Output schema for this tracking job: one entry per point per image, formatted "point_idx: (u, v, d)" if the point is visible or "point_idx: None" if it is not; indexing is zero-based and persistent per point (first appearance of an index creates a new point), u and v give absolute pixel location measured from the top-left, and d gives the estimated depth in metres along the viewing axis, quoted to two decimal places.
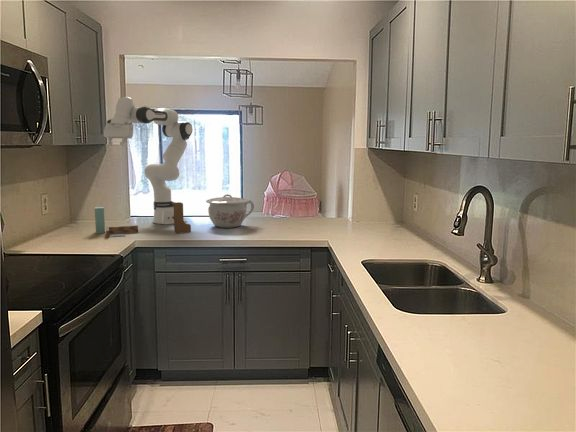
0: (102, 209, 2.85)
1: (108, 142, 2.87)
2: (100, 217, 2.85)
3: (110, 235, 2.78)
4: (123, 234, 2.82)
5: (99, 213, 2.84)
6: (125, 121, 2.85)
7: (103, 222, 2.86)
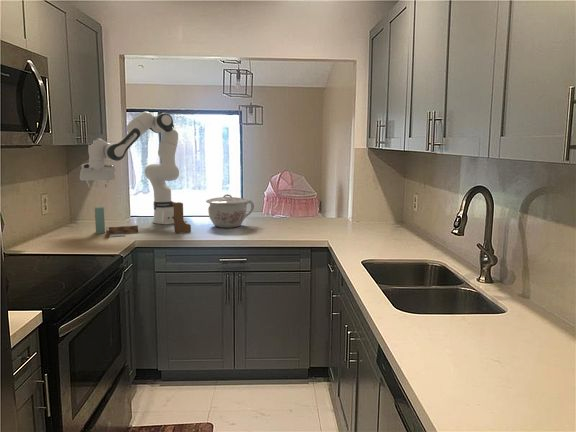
0: (102, 209, 2.85)
1: (88, 185, 2.97)
2: (100, 217, 2.85)
3: (110, 235, 2.78)
4: (123, 234, 2.82)
5: (99, 213, 2.84)
6: None
7: (103, 222, 2.86)
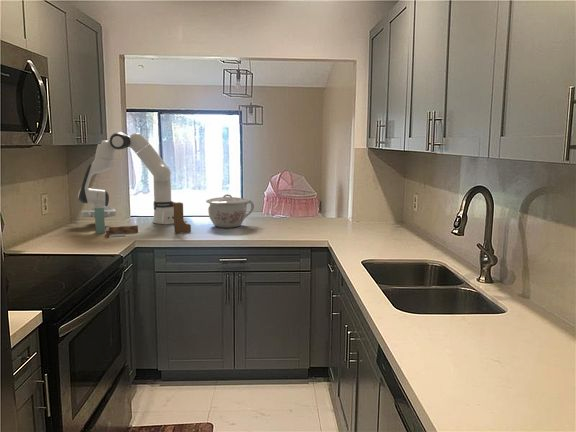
0: (102, 209, 2.85)
1: (108, 216, 3.01)
2: (100, 217, 2.85)
3: (110, 235, 2.78)
4: (123, 234, 2.82)
5: (99, 213, 2.84)
6: None
7: (103, 222, 2.86)
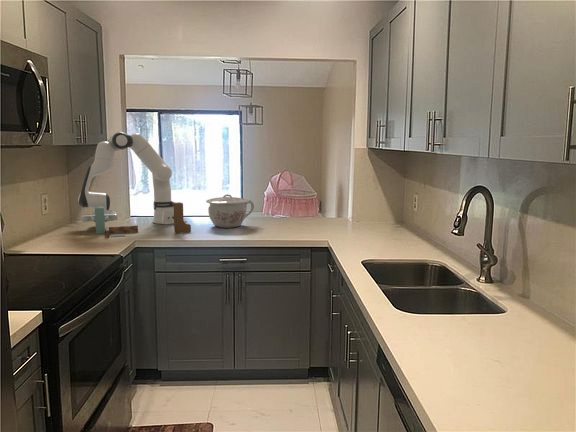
0: (102, 209, 2.85)
1: (106, 220, 2.89)
2: (100, 217, 2.85)
3: (110, 235, 2.78)
4: (123, 234, 2.82)
5: (99, 213, 2.84)
6: None
7: (103, 222, 2.86)
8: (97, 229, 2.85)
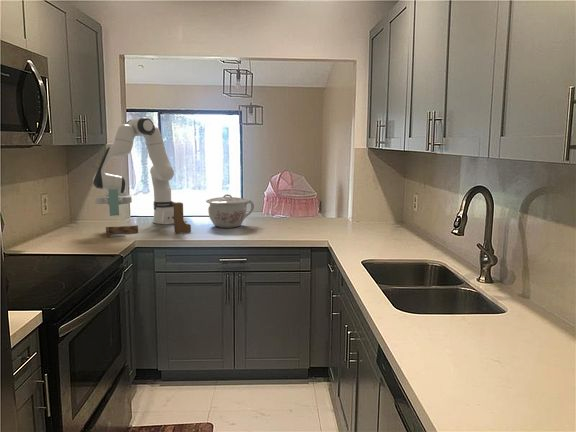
0: (116, 190, 2.75)
1: (120, 202, 2.80)
2: (114, 198, 2.76)
3: (110, 235, 2.78)
4: (123, 234, 2.82)
5: (113, 195, 2.75)
6: None
7: (117, 204, 2.77)
8: (111, 211, 2.76)
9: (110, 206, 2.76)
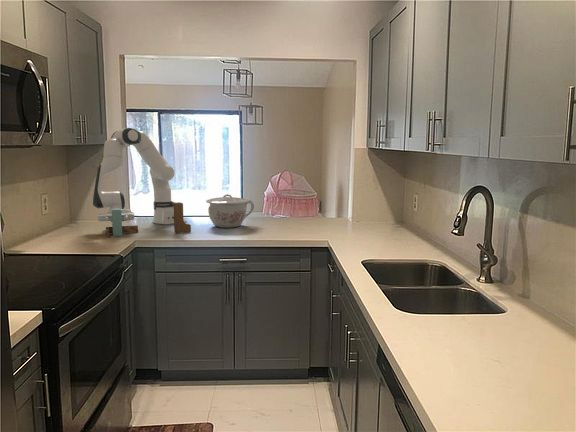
0: (119, 211, 2.76)
1: (126, 219, 2.81)
2: (117, 219, 2.77)
3: (110, 235, 2.78)
4: (123, 234, 2.82)
5: (116, 215, 2.76)
6: None
7: (120, 224, 2.78)
8: (114, 231, 2.77)
9: (113, 226, 2.77)
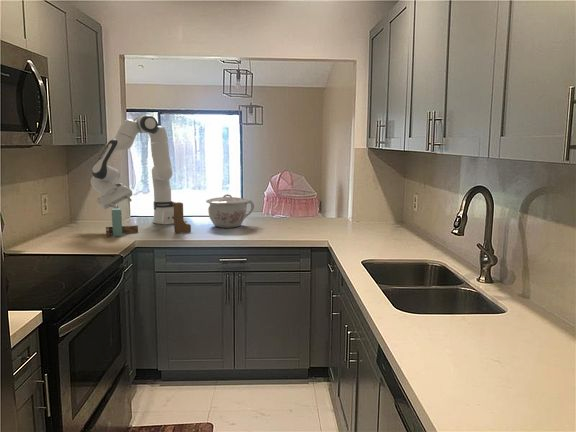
0: (119, 211, 2.76)
1: None
2: (117, 219, 2.77)
3: (110, 235, 2.78)
4: (123, 234, 2.82)
5: (116, 215, 2.76)
6: None
7: (120, 224, 2.78)
8: (114, 231, 2.77)
9: (113, 226, 2.77)
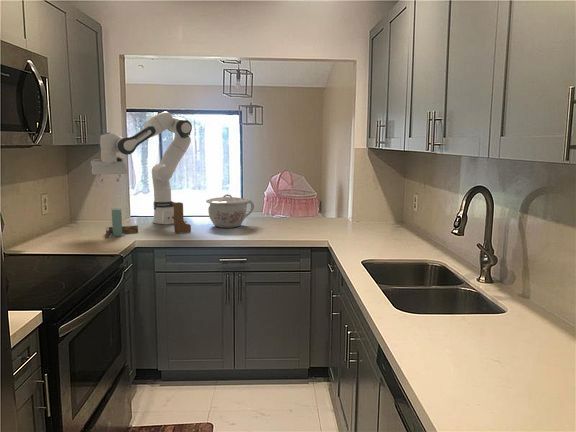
0: (119, 211, 2.76)
1: None
2: (117, 219, 2.77)
3: (110, 235, 2.78)
4: (123, 234, 2.82)
5: (116, 215, 2.76)
6: (101, 158, 2.95)
7: (120, 224, 2.78)
8: (114, 231, 2.77)
9: (113, 226, 2.77)
